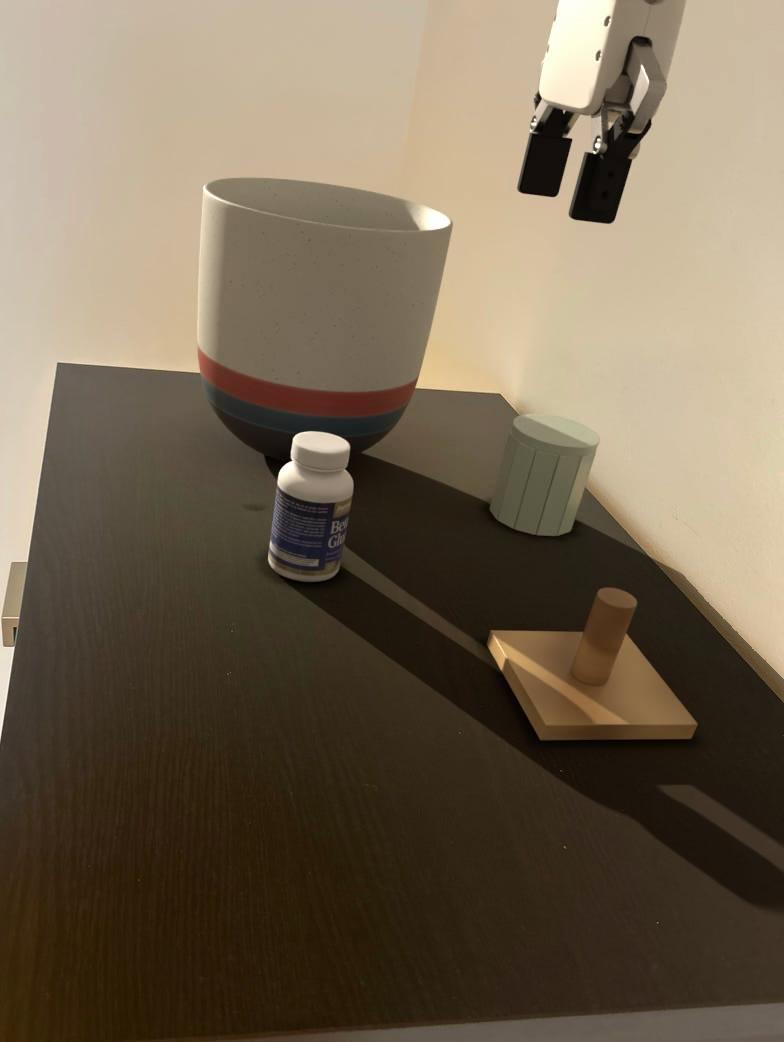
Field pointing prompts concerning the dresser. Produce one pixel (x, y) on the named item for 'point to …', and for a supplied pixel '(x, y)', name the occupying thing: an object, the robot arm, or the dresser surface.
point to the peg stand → (590, 679)
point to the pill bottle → (311, 508)
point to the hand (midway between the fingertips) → (561, 207)
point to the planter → (314, 308)
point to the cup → (543, 474)
